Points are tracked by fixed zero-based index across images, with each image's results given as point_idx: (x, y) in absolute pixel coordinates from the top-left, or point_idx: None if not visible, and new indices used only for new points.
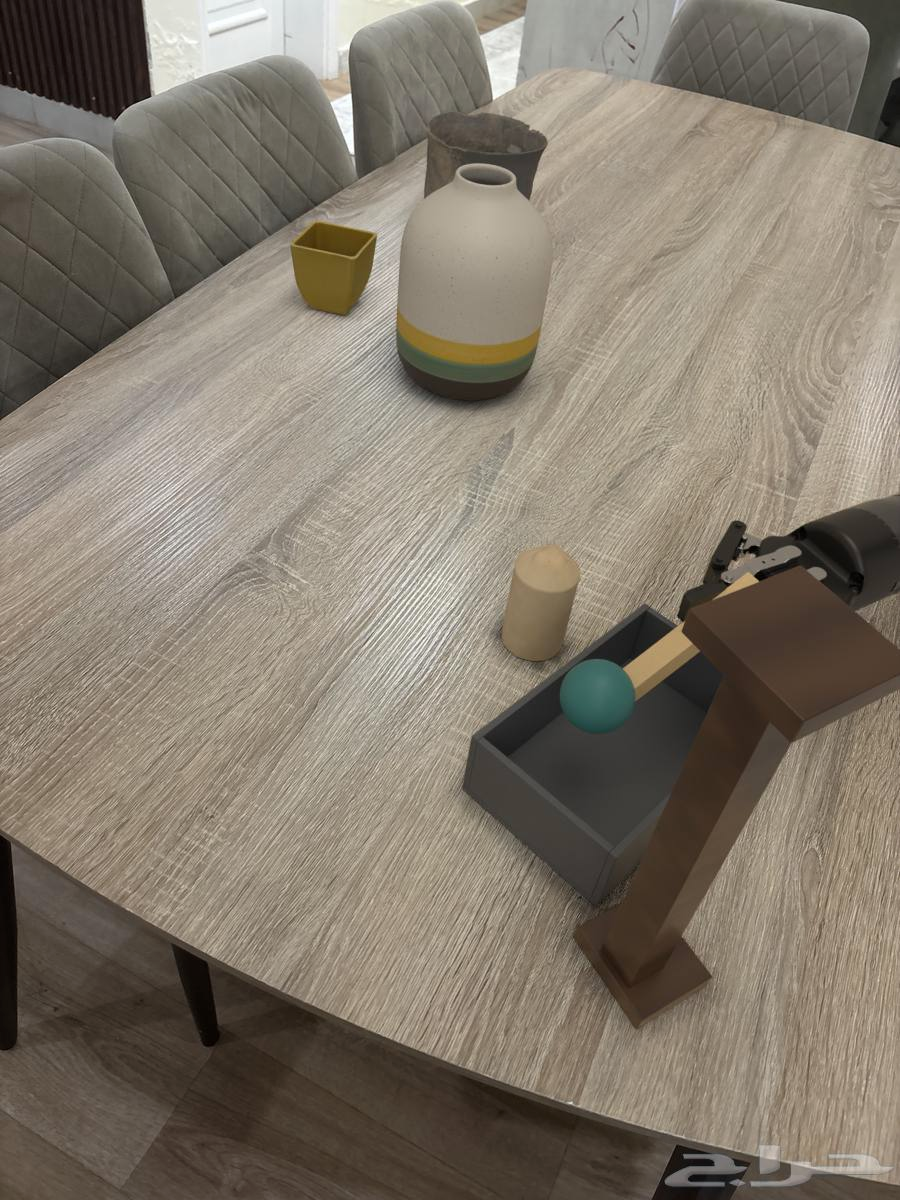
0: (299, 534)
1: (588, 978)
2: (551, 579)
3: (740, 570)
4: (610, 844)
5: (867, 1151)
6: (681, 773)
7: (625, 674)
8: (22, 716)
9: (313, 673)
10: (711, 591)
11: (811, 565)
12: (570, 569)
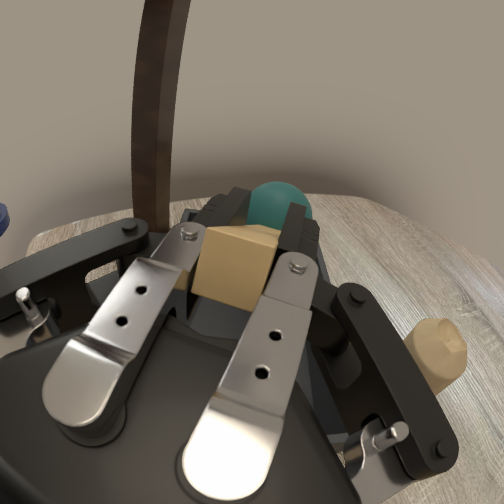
0: (490, 333)
1: None
2: (427, 325)
3: (299, 297)
4: (193, 211)
5: (38, 236)
6: (180, 56)
7: (272, 200)
8: (406, 218)
9: (403, 279)
10: (290, 224)
11: (130, 492)
12: (435, 345)
